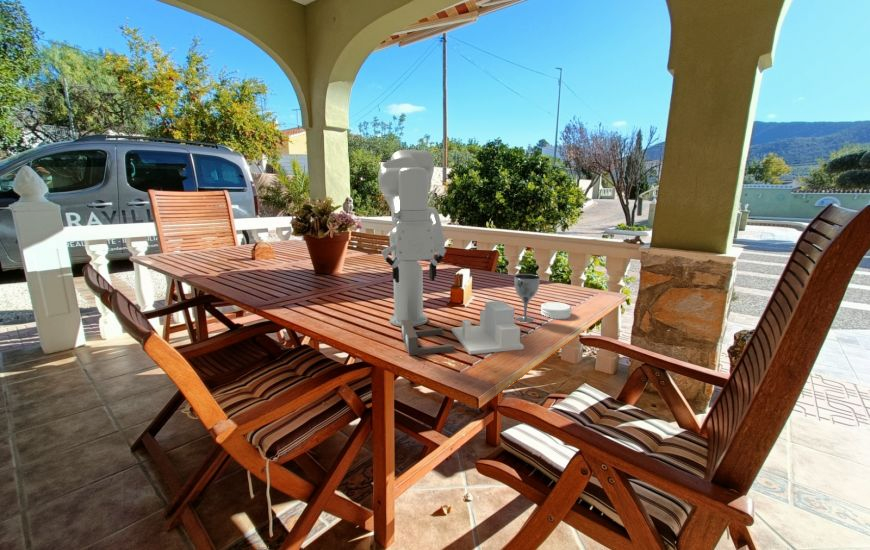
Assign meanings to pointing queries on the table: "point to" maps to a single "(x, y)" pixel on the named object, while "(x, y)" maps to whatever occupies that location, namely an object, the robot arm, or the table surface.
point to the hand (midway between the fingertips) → (414, 280)
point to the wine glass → (526, 291)
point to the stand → (490, 330)
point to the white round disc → (556, 310)
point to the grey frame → (412, 340)
